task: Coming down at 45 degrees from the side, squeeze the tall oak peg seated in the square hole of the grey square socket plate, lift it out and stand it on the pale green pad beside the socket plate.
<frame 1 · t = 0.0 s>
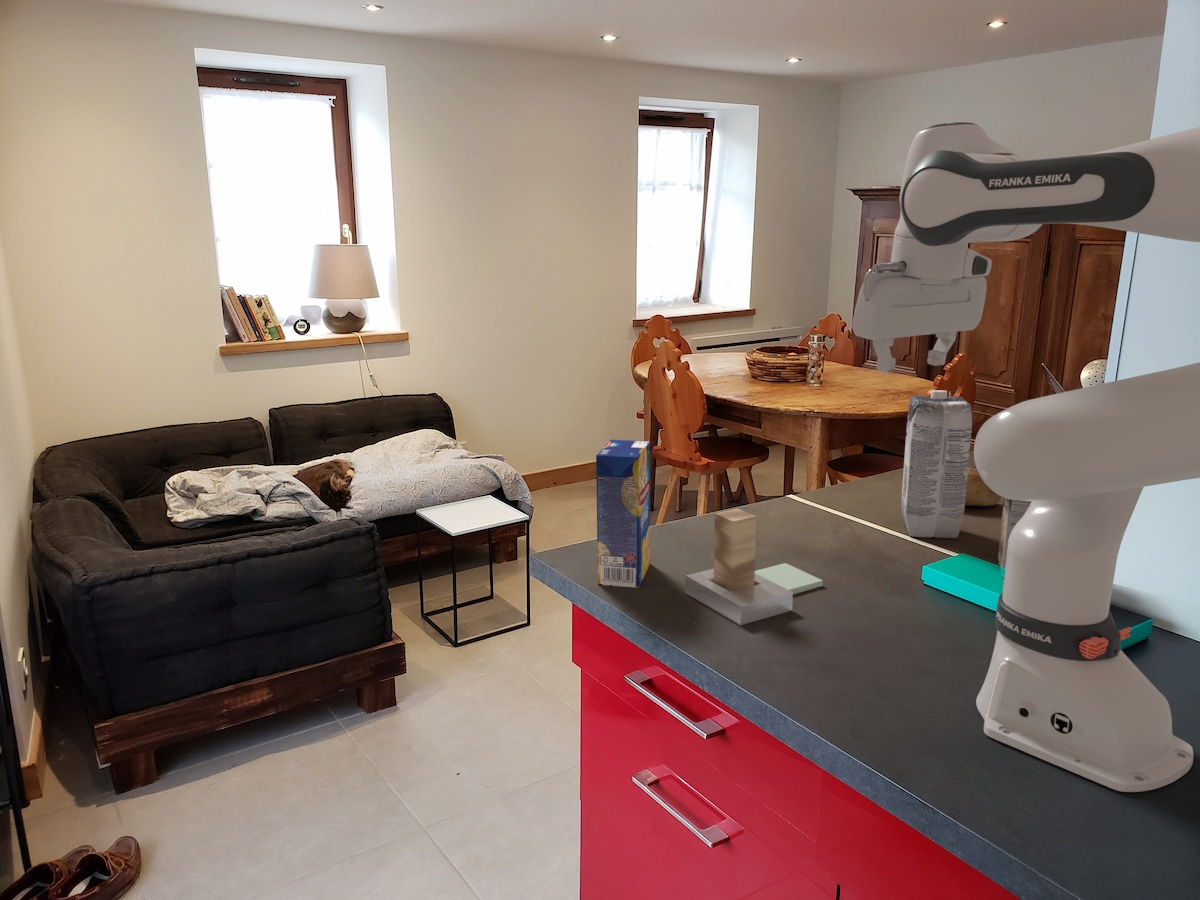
hand: (910, 367, 116), 39 cm above the worktop, tool pointing down, fingers open, 8 cm apart
pad: (782, 582, 147), on the worktop
beverage box: (624, 574, 151), on the worktop
bread roll: (961, 506, 185), on the worktop
oak peg: (733, 599, 140), resting in grey square socket plate
grey square socket plate: (737, 601, 140), on the worktop
juice carton: (930, 533, 169), on the worktop
coffee box: (1018, 572, 150), on the worktop
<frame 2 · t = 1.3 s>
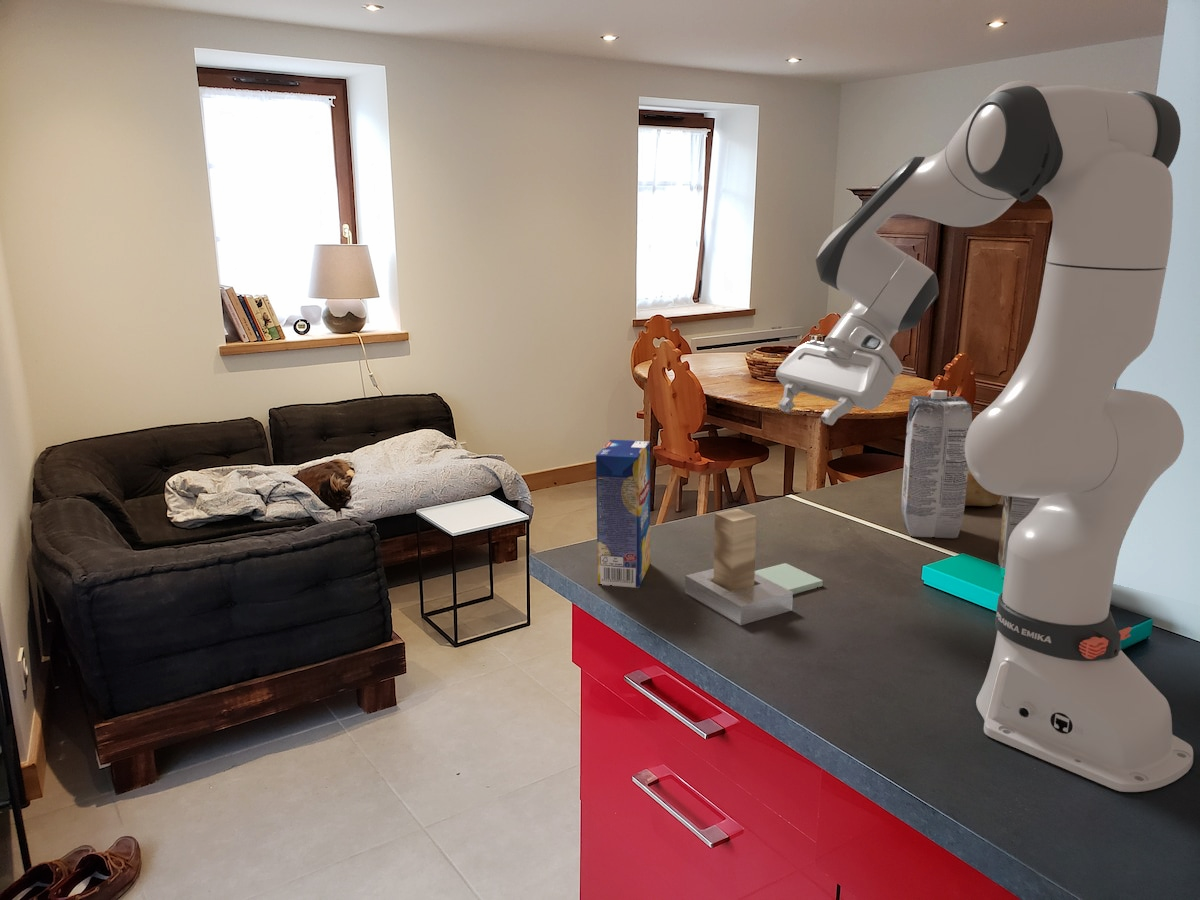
hand: (803, 415, 140), 28 cm above the worktop, tool tilted 45°, fingers open, 8 cm apart
nothing on the worktop moved.
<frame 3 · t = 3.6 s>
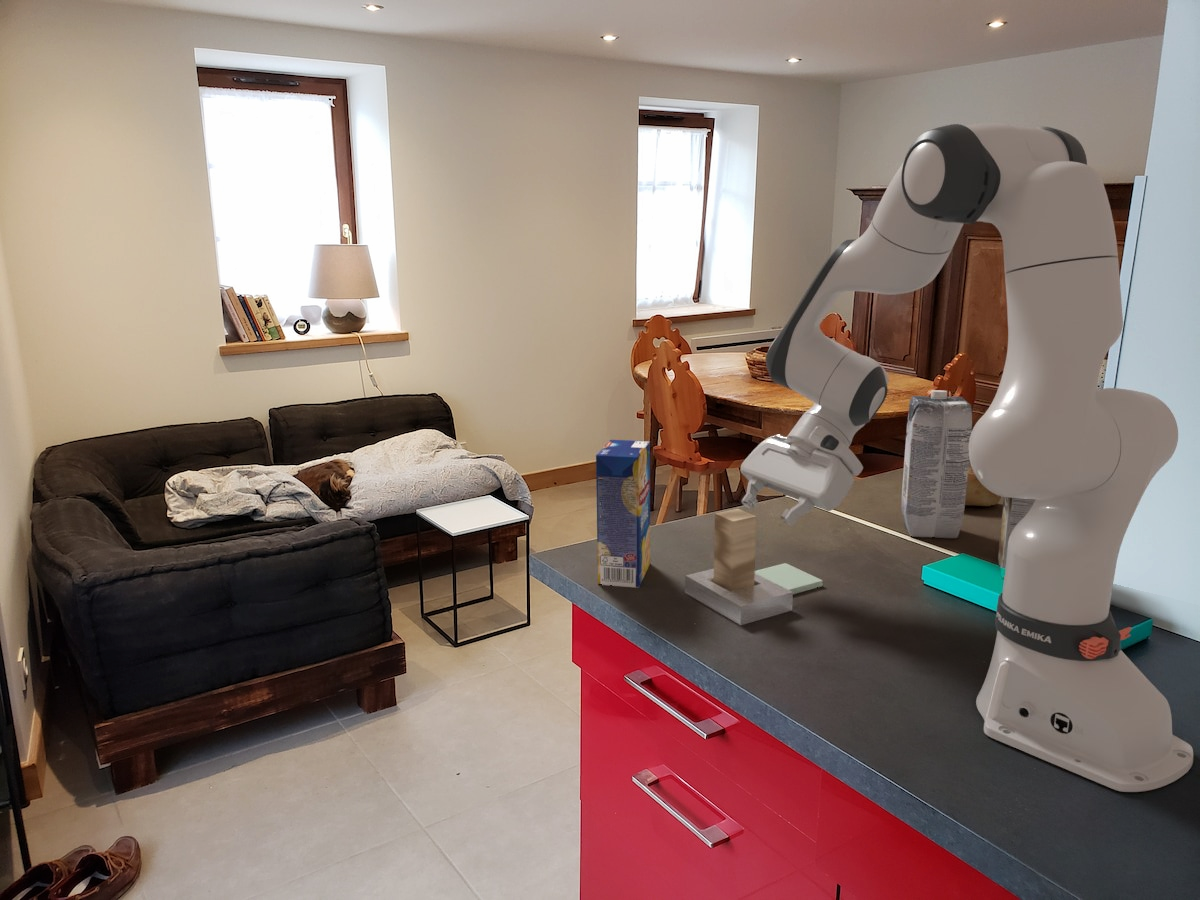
hand: (765, 513, 140), 13 cm above the worktop, tool tilted 45°, fingers open, 8 cm apart
nothing on the worktop moved.
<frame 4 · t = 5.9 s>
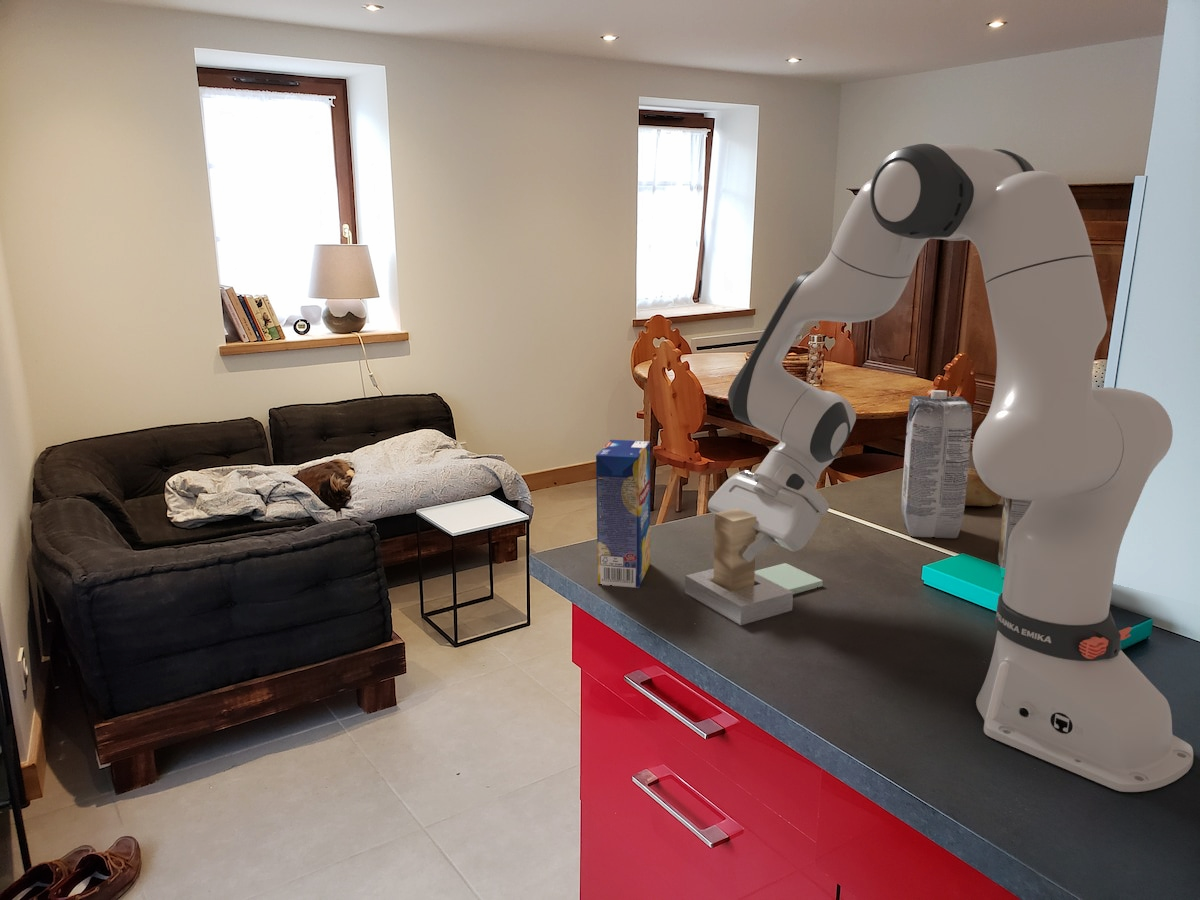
hand: (731, 552, 138), 8 cm above the worktop, tool tilted 45°, fingers closed on oak peg, 4 cm apart
oak peg: (733, 599, 140), resting in grey square socket plate, touching gripper
everything else where it was.
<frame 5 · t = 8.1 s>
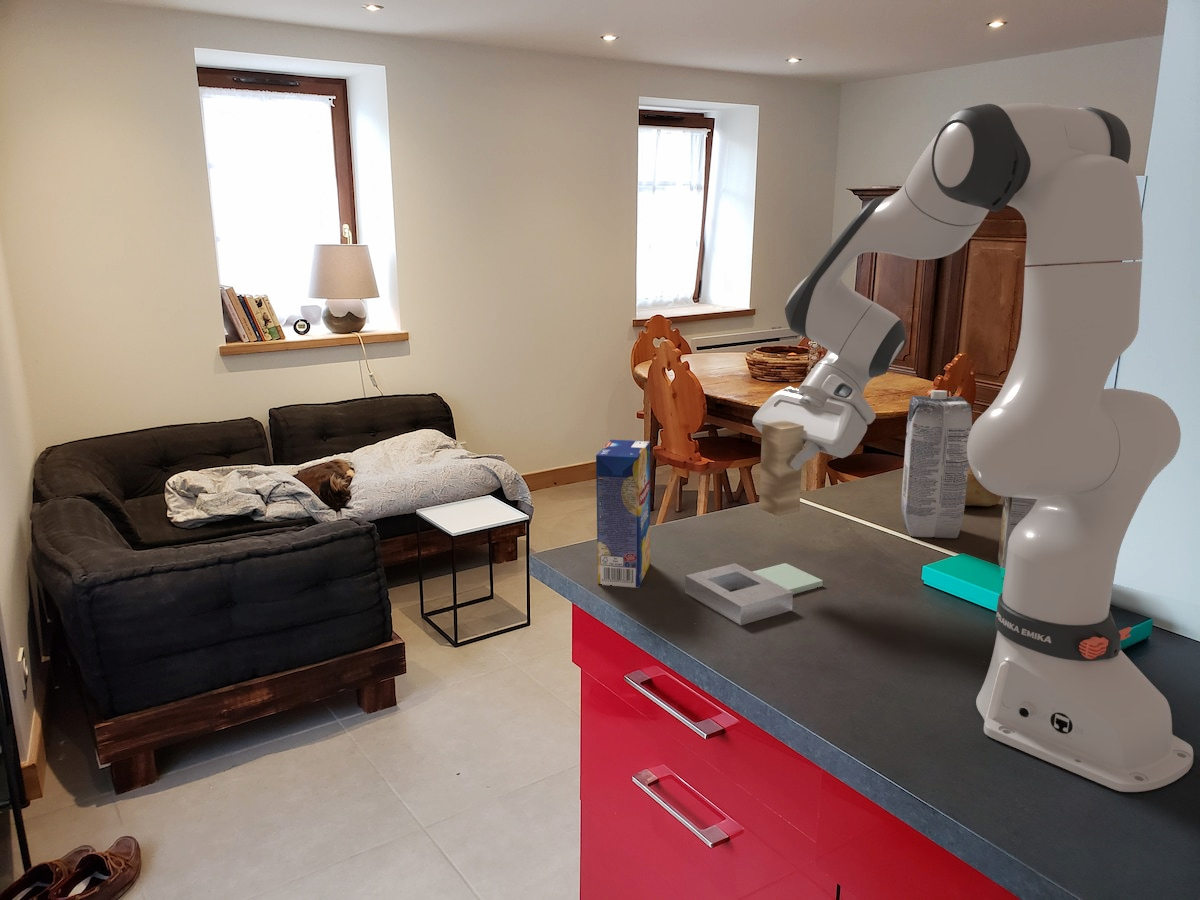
hand: (778, 463, 141), 21 cm above the worktop, tool tilted 45°, fingers closed on oak peg, 4 cm apart
oak peg: (779, 509, 143), point 13 cm above the worktop, touching gripper
everything else where it was.
when the fingers open (10 cm above the worktop, at t = 10.5 s): oak peg drops 1 cm, resting on pad.
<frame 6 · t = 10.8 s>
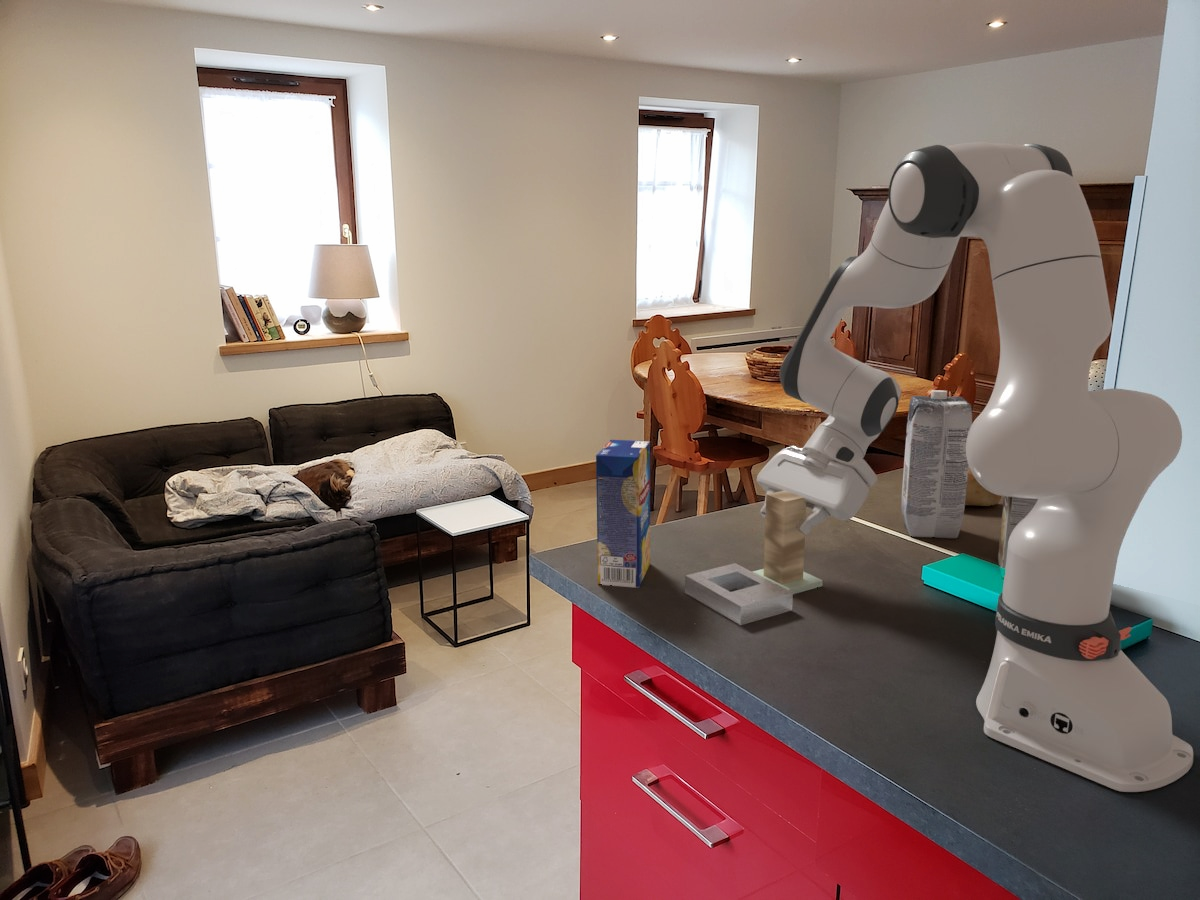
hand: (782, 523, 144), 10 cm above the worktop, tool tilted 45°, fingers open, 7 cm apart
oak peg: (783, 577, 146), point 1 cm above the worktop, touching pad
everything else where it was.
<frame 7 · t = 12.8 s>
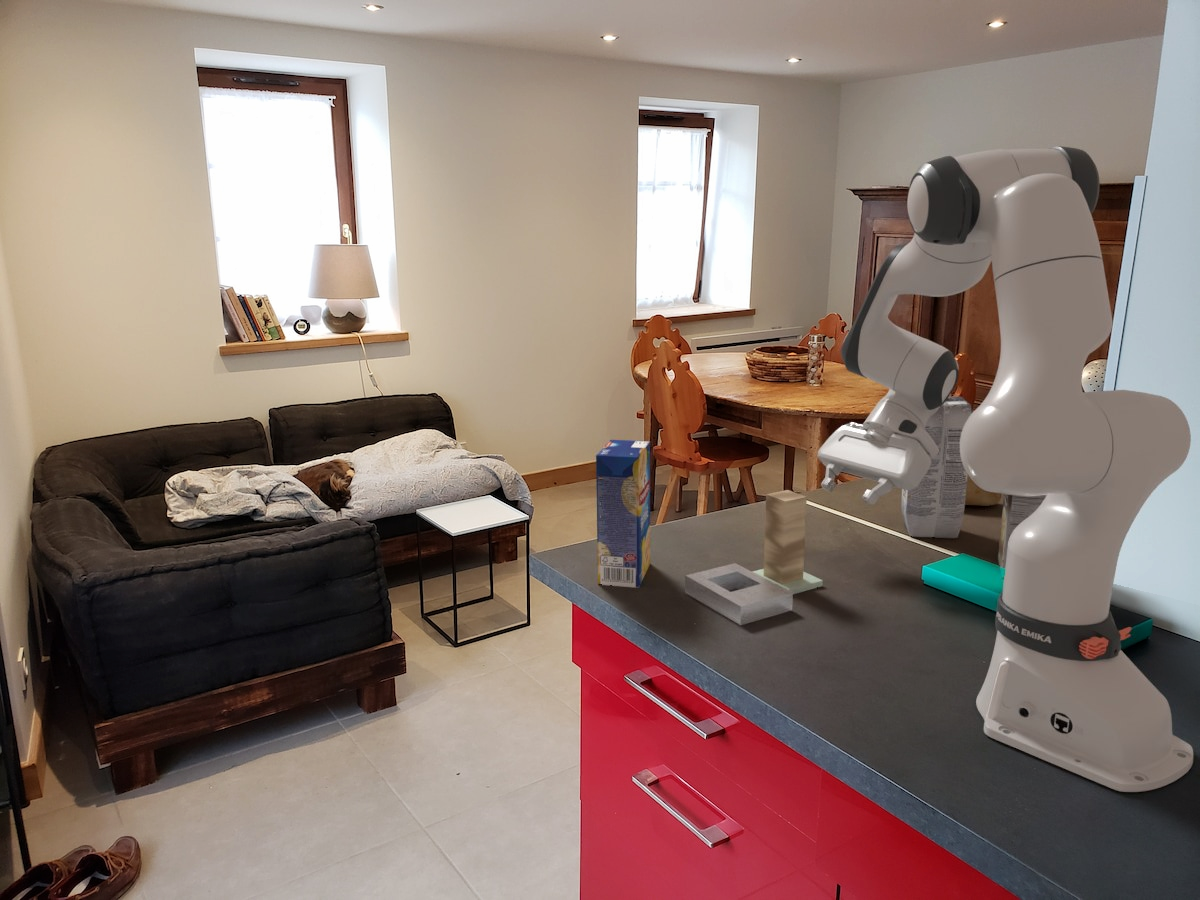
hand: (845, 495, 148), 13 cm above the worktop, tool tilted 45°, fingers open, 8 cm apart
nothing on the worktop moved.
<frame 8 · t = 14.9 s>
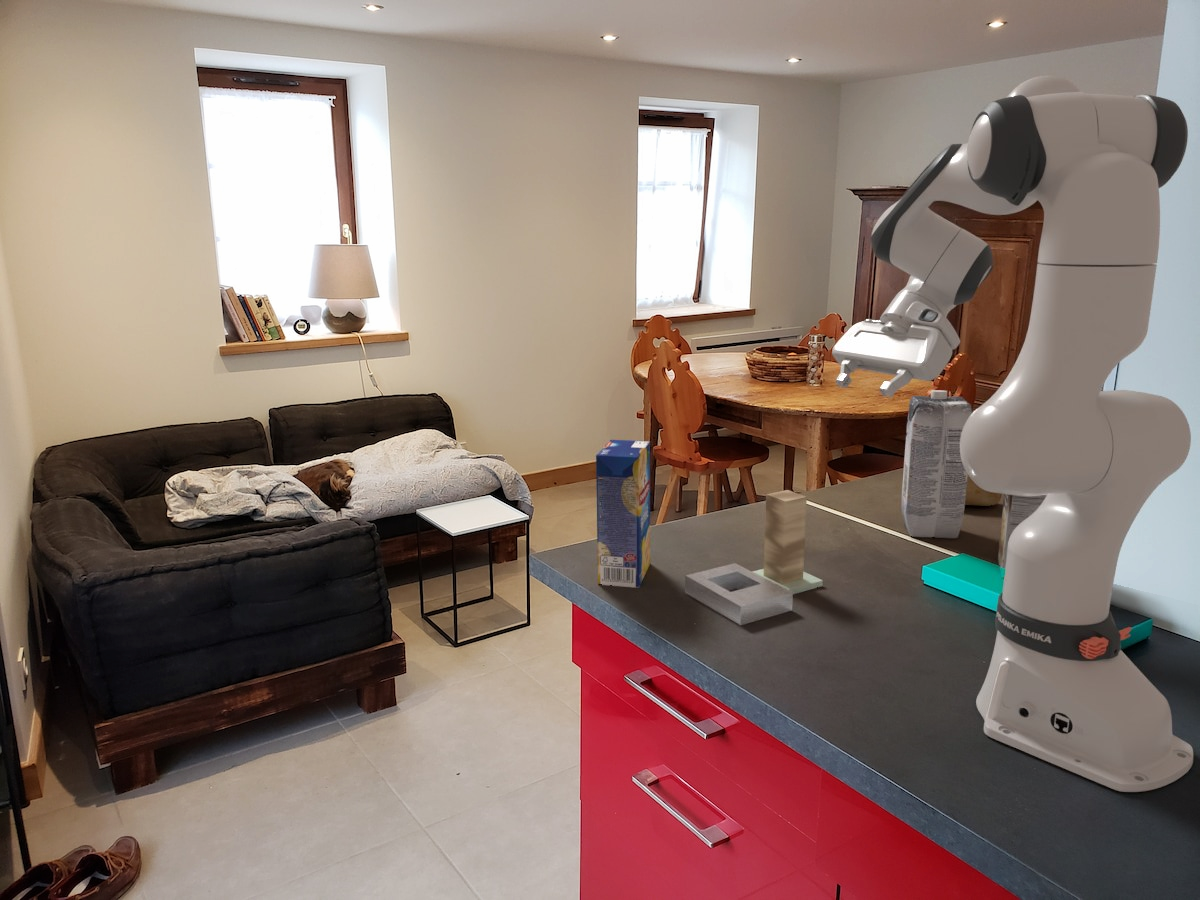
hand: (861, 389, 142), 31 cm above the worktop, tool tilted 45°, fingers open, 8 cm apart
nothing on the worktop moved.
at the end: oak peg inside the target area on the pad (0.1 cm from its centre), point 1.0 cm above the pad's base; oak peg tilted 0°; the gripper is holding nothing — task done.
